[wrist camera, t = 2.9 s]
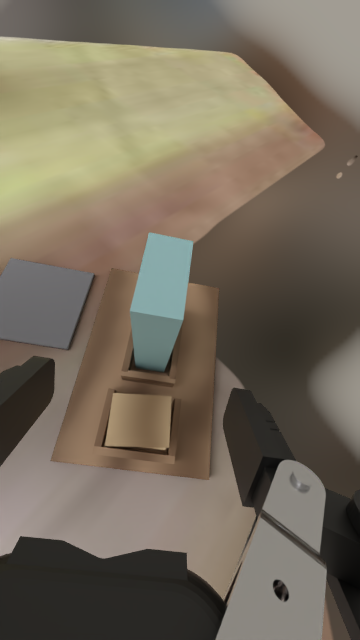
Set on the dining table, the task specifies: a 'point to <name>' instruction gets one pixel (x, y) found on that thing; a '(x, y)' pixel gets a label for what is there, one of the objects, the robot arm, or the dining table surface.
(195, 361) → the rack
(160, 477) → the dining table surface
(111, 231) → the dining table surface
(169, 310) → the teal rectangular block
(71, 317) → the mat
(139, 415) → the offcut top
